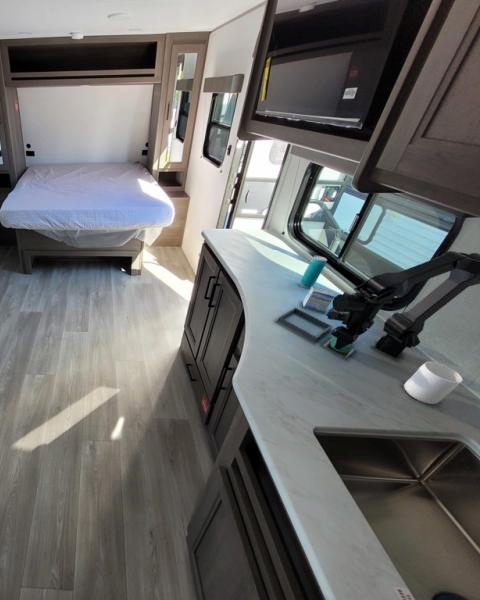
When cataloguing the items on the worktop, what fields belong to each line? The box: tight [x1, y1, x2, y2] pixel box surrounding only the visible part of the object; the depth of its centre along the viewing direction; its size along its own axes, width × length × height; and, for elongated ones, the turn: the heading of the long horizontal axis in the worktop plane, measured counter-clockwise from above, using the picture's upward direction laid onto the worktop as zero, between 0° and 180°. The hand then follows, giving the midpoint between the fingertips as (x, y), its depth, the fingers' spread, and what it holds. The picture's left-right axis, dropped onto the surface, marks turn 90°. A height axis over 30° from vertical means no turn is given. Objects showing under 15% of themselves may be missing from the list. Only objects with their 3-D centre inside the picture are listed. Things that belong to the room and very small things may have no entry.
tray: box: [276, 307, 333, 343], centre depth 122 cm, size 14×13×2 cm
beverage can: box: [299, 255, 328, 289], centre depth 145 cm, size 6×6×15 cm
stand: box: [323, 337, 356, 359], centre depth 111 cm, size 8×8×5 cm
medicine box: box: [302, 286, 335, 313], centre depth 131 cm, size 8×4×9 cm, turn 62°
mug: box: [403, 361, 464, 405], centre depth 95 cm, size 12×8×10 cm
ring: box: [329, 335, 355, 353], centre depth 111 cm, size 6×6×3 cm
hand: (340, 345), depth 112 cm, fingers closed on ring, 6 cm apart
